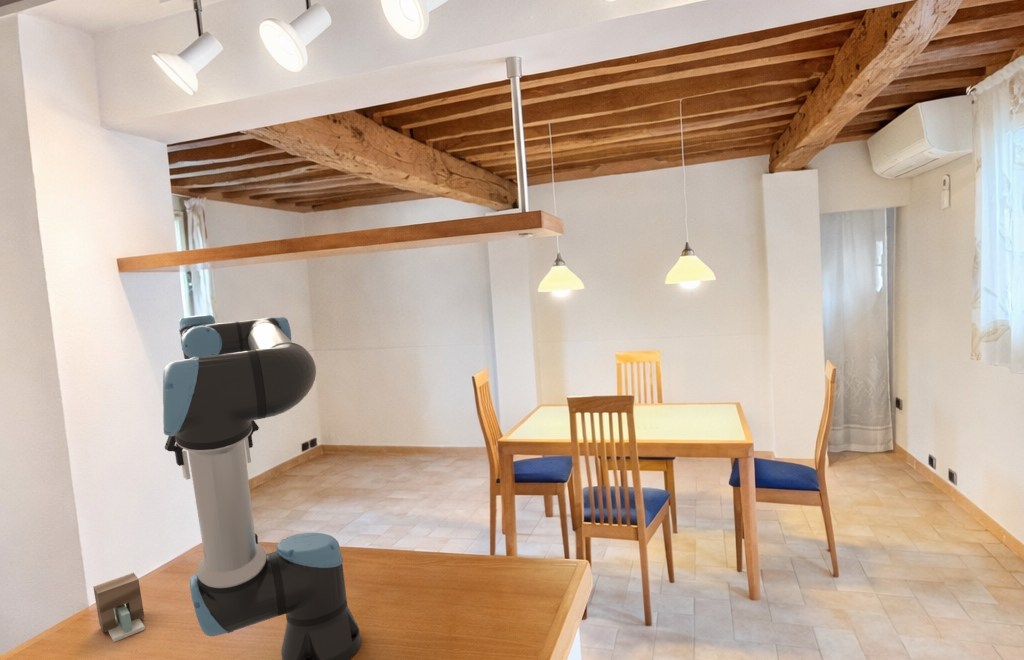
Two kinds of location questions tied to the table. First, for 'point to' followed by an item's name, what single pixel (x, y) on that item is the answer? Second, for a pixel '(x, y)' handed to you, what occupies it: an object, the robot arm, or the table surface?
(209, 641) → the table surface
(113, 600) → the brown notched block
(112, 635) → the inverted t-shaped bar
